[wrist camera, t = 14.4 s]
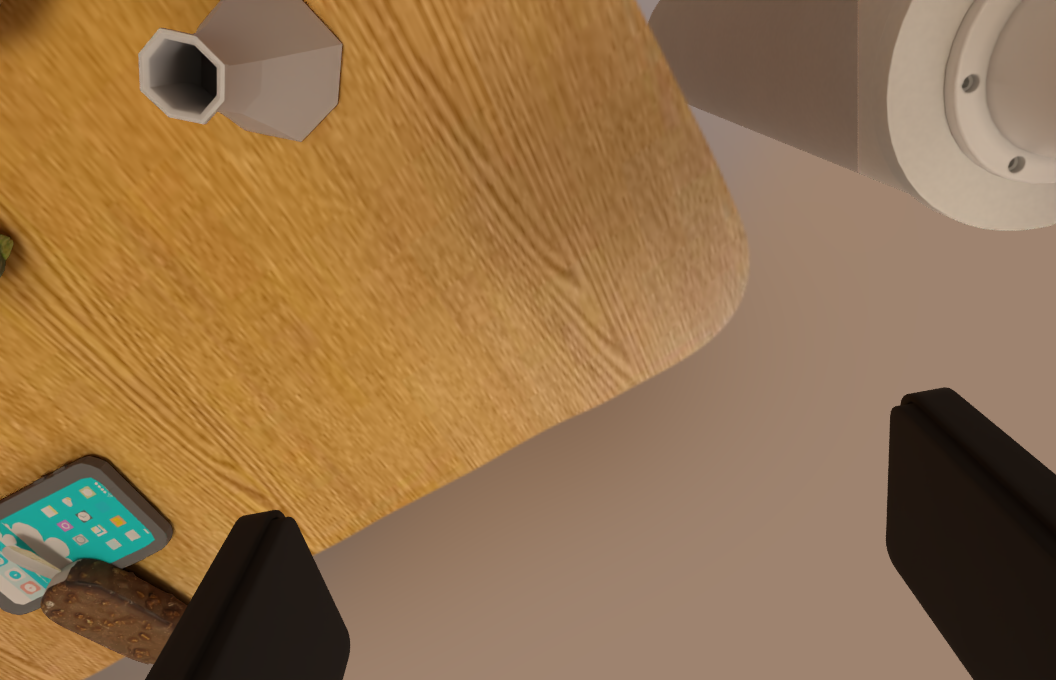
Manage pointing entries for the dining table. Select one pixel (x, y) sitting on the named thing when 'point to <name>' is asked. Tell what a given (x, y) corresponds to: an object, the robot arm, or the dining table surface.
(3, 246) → the vegetable
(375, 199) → the dining table surface
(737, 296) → the dining table surface
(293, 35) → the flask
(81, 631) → the ice cream bar
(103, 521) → the smartphone
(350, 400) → the dining table surface
